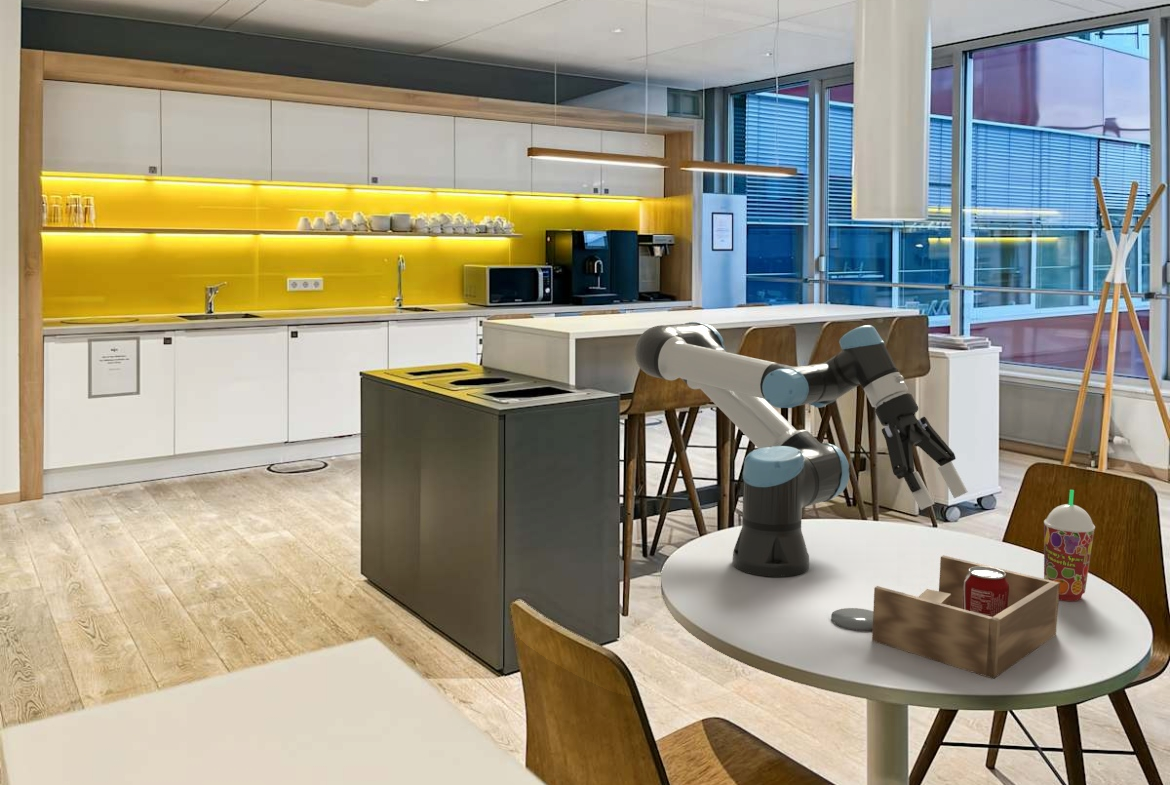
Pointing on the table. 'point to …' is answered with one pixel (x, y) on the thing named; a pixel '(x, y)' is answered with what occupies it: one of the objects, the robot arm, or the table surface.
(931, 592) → the offcut top
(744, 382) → the robot arm
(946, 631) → the open wooden box
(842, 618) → the coaster
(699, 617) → the table surface
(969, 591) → the soda can
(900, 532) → the table surface
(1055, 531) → the smoothie
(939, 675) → the table surface
